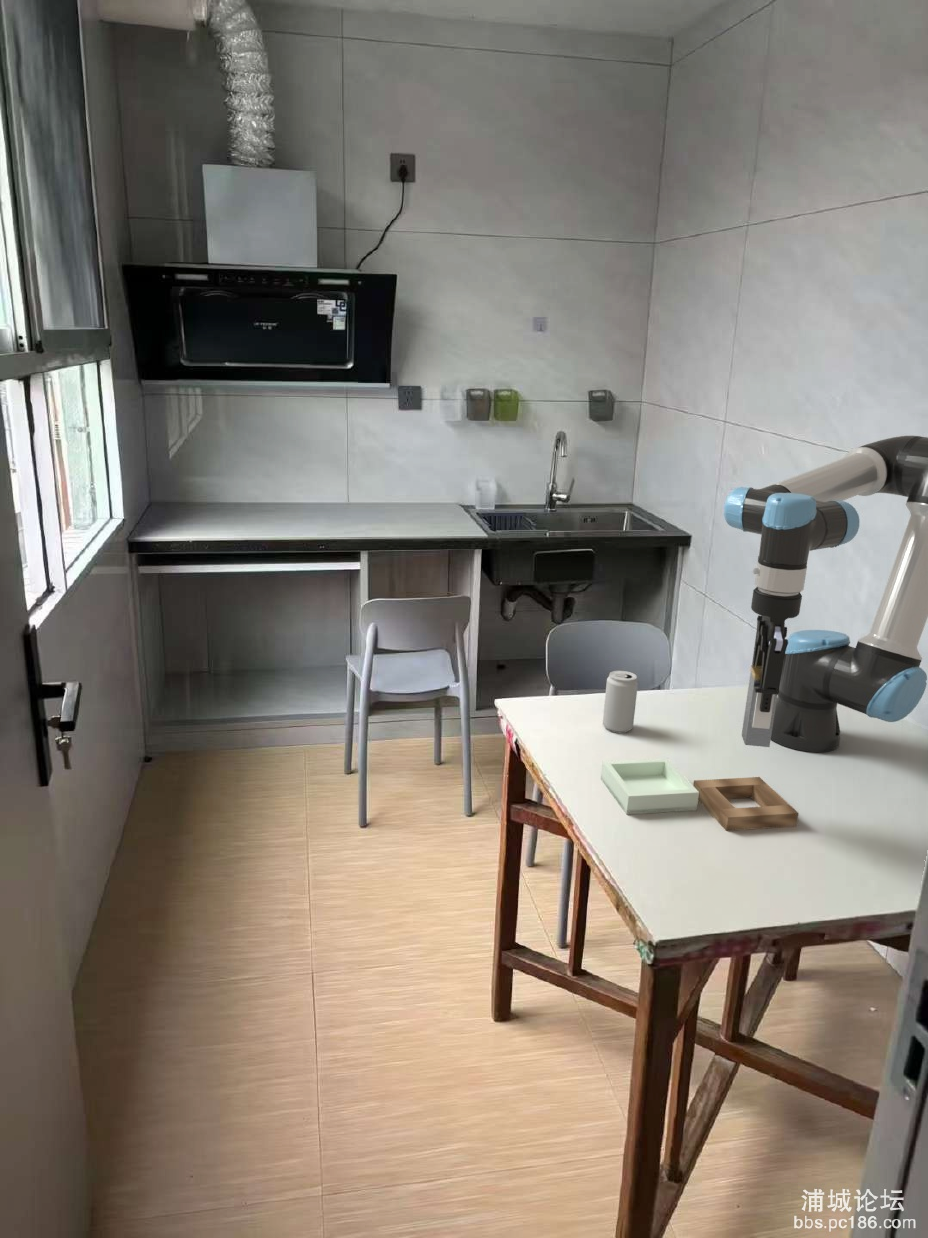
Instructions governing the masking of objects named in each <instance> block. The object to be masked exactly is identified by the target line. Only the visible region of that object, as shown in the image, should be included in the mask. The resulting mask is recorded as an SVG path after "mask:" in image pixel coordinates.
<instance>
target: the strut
mask: <svg viewBox="0 0 928 1238" xmlns="http://www.w3.org/2000/svg"><path fill="white" fill-rule="evenodd" d="M761 668H762V666H755V665H752V664H751V666H750V675H749V682H748V687H747V695H746V702H745V709H744V715H743V723H742V730H741V738H742V740H743V743H744V745H745V746H753V747H763V748H770V745H771V741H772V740H771V734H772V728H773V721H774V715H775V708H776V702H777V697H778V695H775V696H774V702H773V709H772V715H771V722H770V728H769V729H764V728H753V727H752V722H753V716H754V709H755V702H756V695H757V693H756V692H755V688H758V689H759V688H760V678H761Z"/></svg>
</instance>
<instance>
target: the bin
mask: <svg viewBox="0 0 928 1238" xmlns="http://www.w3.org/2000/svg"><path fill="white" fill-rule="evenodd" d="M600 780H601V782H602V783H603V784H604V786H605V787H606V788H607V790H608V791H609V792H610V794H611V795H612V797H613V798H614V799H615V801H616V802H617V804H618V805H619V806H620V808H621V809H622V810H623V812H624V814H626V815H639V814H641V815H642V814H655V813H656V814H657V813H673V812H689V811H697V810H698V809H697V808H698V802H699V800H698V797H699V792H698V791H697V789H696V788H695V787H694V786H693V783H692V782H690V781H689V779H688V778H687V777H686V776H685V775H684V774H683V773H682V772H681V770H680V769H678V767H677V766H676V765H675V764H674V763H673V762H672V761H671V760H670V759H669V758H652V759H649V758H648V759H633V760H632V759H631V760H630V759H629V760H627V759H626V760H611V761H609V760H608V761H602V762H601V772H600Z"/></svg>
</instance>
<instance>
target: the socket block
mask: <svg viewBox="0 0 928 1238" xmlns="http://www.w3.org/2000/svg"><path fill="white" fill-rule="evenodd" d="M692 785H693V786H694V787H695V788H696V789H697V791H698V792H699V797H698V802H700V803H701V805H702V806H703V807H704V808H705V809H706V811H708V813H710V814H711V816H712V817H713V818H714V819H715V820H716V821H717V822H718V824H720V826H721V827H722V828H723V829H724V830H725V831H729V832H730V831H741V830H756V829H757V830H758V829H773V828H789V827H797V823H798V820H799V819H798V818H799V812H798V811H797V810H796V809H795V808H794V807H793V806H791V804H790V803H788V802H787V801H786V800H785V799H784V798H783V797H781V796H780V794H779V793H777V792H776V791H775V790H774V789H773V788H772V787H771V786H770V785H769V784H768V783H767V782H766V781H764V780H763V779H762V778H761V777H760V776H752V777H749V776H748V777H735V778H716V779H712V778H711V779H698V780H695V779H694V780H693V783H692ZM742 798H743V799H744V798H750V799H753V800H754V802H755V803H757V804H758V805H759V806H752V807H748V806H747V807H735V806H734V805H733V804H732V803H731V802H730V801H729V800H728V799H742Z"/></svg>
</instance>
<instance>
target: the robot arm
mask: <svg viewBox="0 0 928 1238" xmlns="http://www.w3.org/2000/svg"><path fill="white" fill-rule="evenodd" d="M876 494H888V495H895V496H902V497H907V500H906V502H905V505H906V508H907V510H908V511H909V515H910V517H909V520H908V523H907V525H906V528H905V532H904V534H903V537H902V540H901V543H900V545H899V549H898V551H897V553H896V557H895V559H894V562H893V565H892V568H891V571H890V574H889V578H888V581H887V582H886V586H885V588H884V592H883V593H882V597H881V599H880V602H879V605H878V608H877V611H876V614H875V617H874V620H873V623H872V625H871V629H870V631H869V633H868V634H867V635H864V636H863V637H861V638H859V639H857V642H856V646H855V647H853V646H851V645H850V644H851V639H850V636H849V635H847V634H846V633H844V632H843V633H842V632H840V631H839V632H838V631H835V630H825V629H805V630H799V631H796V632H793V633H792V634H790V635H789V636H788V637H787V633H788V627H787V626H786V624H785V622H786V620H788V619H794V618H796V617H797V616H799V615H800V611H801V606H802V604H801V603H802V598H803V595H802V594H801V592H802V591H803V590H804V587H805V582H806V575H807V570H808V569H807V568H808V559H809V555H810V554H809V553H810V552H812V551H817V550H821V549H828V548H831V549H834V548H837V547H839V546H840V545H841V546H842V545H845V544H847V543H849V542H850V541H852V540H853V539H854V538H855V537H856V536H857V534H858V532H859V529H860V522H861V521H860V515H859V513H858V511H857V510H856V508H855V507H854V506H853V505H852V504H850V503H849V502H847V500H849V499H851V498H853V497H857V496H861V497H868V496H872V495H876ZM723 509H724V510H723V511H724V512H723V517H724V520H725V522H726V523H727V525H728V526H729V527H731V528H735V529H738V530H741V531H743V532H746V533H748V532H749V533H752V534H757V535H761V536H760V543H759V544H760V545H759V553H758V554H759V555H758V556H757V557H758V558H757V567H755V568H754V567H753V568H752V573H753V574H754V575H755V580H754V585H755V586H756V587H754V589H753V590H752V599H751V603H750V604H751V606H750V608H751V611H753V613H755V614H756V615H757V618H756V623H757V624H756V632H755V641H754V646H753V654H752V655H753V656H752V663H751V665H755V666H762V668H761V678H760V688H759V689H758V688H755V692H756V693H757V695H756V702H755V709H754V716H753V722H752V727H753V728H764V729H769V728H770V722H771V715H772V709H773V702H774V696H775V695H777V702H776V708H775V715H774V721H773V728H772V734H771V740H770V741H773V742H774V743H776V744H779V745H781V746H784V747H786V748H789V749H794V750H798V751H803V752H812V753H825V752H831V751H833V750H836V749H837V748H838V747H839V746H840V740H841V727H840V723H839V716H838V711H837V710H838V709H837V708H838V705H841V706H844V707H846V708H849V709H852V710H853V711H856V712H858V713H862V714H865V716H866V715H867V717H869V718H873V719H878V720H881V721H884V722H887V723H895V722H899V721H901V720H903V719H904V718H906V717H907V716H908V715H909V714H911V713H912V712H913V711H914V710H915V708H916V707H917V706H918V705H919V703H920V702H921V699H922V698H923V695H924V693H925V691H926V688H927V684H928V683H927V681H928V676H927V672H926V671H925V670H924V669H923V668H922V667H920V665H921V663H922V660H923V657H922V655H921V654H920V652H919V650H918V645H919V644H920V643H919V642H920V640H921V636H922V634H923V632H924V628H925V625H926V623H927V620H928V437H927V436H926V437H925V436H920V435H899V436H894V437H889V438H885V439H880V440H876V441H873V442H869V443H867V444H864V445H861V446H858V447H856V448H855V447H854V449H851V450H849V451H848V452H847V453H846V454H845V455H844V456H843V458H841V459H838V460H836V461H833V462H831V463H827V464H824V465H822V466H818V467H817V468H814V469H811V470H809V471H806V472H803V473H801V474H798V475H796V476H792V477H790V478H787V479H784V480H782V481H779V482H776V483H773V484H771V485H769V486H765V487H762V488H759V489H758V488H753V487H749V486H748V487H743V486H739V487H736V488H734V489H733V490H732V491H731V492H730V493H729V494H728V495H727V497H726V500H725V501H724V506H723Z"/></svg>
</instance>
